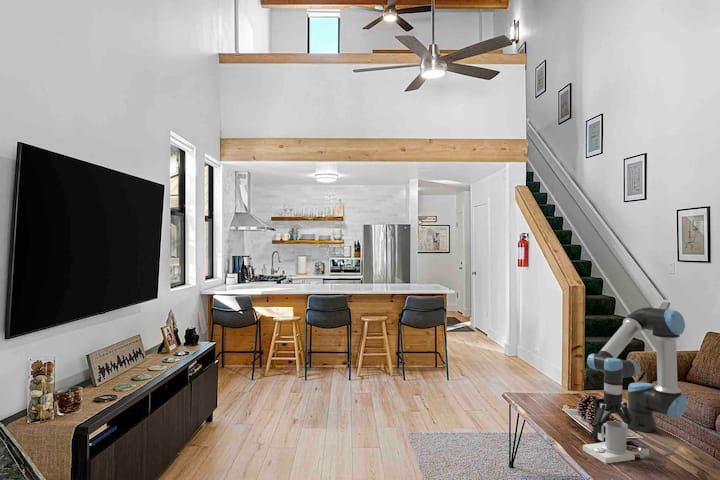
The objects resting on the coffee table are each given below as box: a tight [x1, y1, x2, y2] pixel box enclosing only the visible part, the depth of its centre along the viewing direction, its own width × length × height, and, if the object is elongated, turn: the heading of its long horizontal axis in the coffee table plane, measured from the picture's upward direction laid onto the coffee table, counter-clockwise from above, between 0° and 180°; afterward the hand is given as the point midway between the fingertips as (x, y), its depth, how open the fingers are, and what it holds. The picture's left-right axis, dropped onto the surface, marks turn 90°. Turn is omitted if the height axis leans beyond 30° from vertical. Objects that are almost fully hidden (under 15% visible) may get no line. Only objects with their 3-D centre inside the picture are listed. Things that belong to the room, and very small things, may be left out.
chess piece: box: [589, 395, 609, 443], centre depth 237 cm, size 8×8×20 cm
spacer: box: [637, 446, 650, 460], centre depth 217 cm, size 4×4×4 cm
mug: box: [602, 420, 627, 452], centre depth 220 cm, size 12×8×11 cm
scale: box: [582, 442, 636, 464], centre depth 219 cm, size 16×14×4 cm
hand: (612, 438), depth 220 cm, fingers open, 13 cm apart
